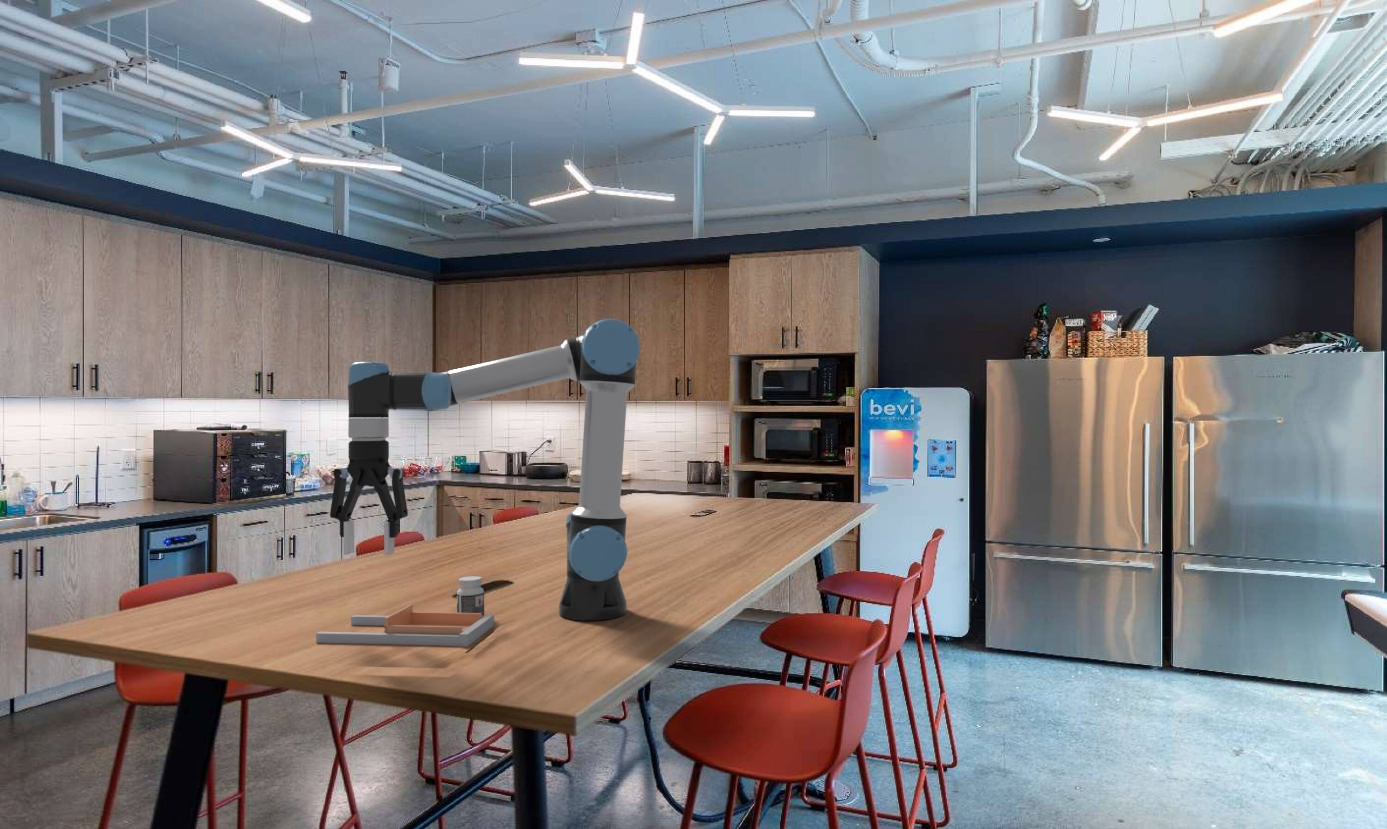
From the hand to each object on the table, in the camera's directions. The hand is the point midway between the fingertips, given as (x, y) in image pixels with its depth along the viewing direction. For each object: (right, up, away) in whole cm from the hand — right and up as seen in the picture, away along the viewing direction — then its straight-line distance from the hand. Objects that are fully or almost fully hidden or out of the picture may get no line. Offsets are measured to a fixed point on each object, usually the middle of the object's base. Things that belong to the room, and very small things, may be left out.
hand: (369, 553), depth 163 cm
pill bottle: (+17, -17, +12) cm, 27 cm away
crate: (+13, -16, -1) cm, 21 cm away
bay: (+8, -17, -1) cm, 19 cm away
